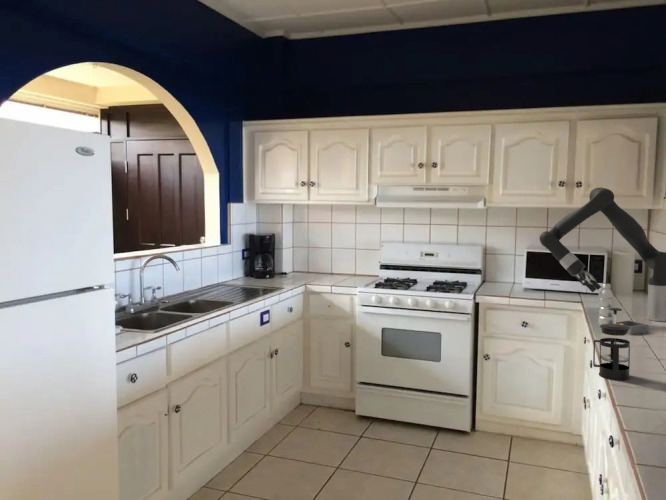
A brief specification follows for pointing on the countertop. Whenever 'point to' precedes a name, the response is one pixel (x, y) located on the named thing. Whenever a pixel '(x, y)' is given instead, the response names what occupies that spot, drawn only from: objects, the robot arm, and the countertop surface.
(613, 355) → the french press
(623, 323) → the socket collar
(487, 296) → the countertop surface
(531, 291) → the countertop surface
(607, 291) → the silver metal bottle
